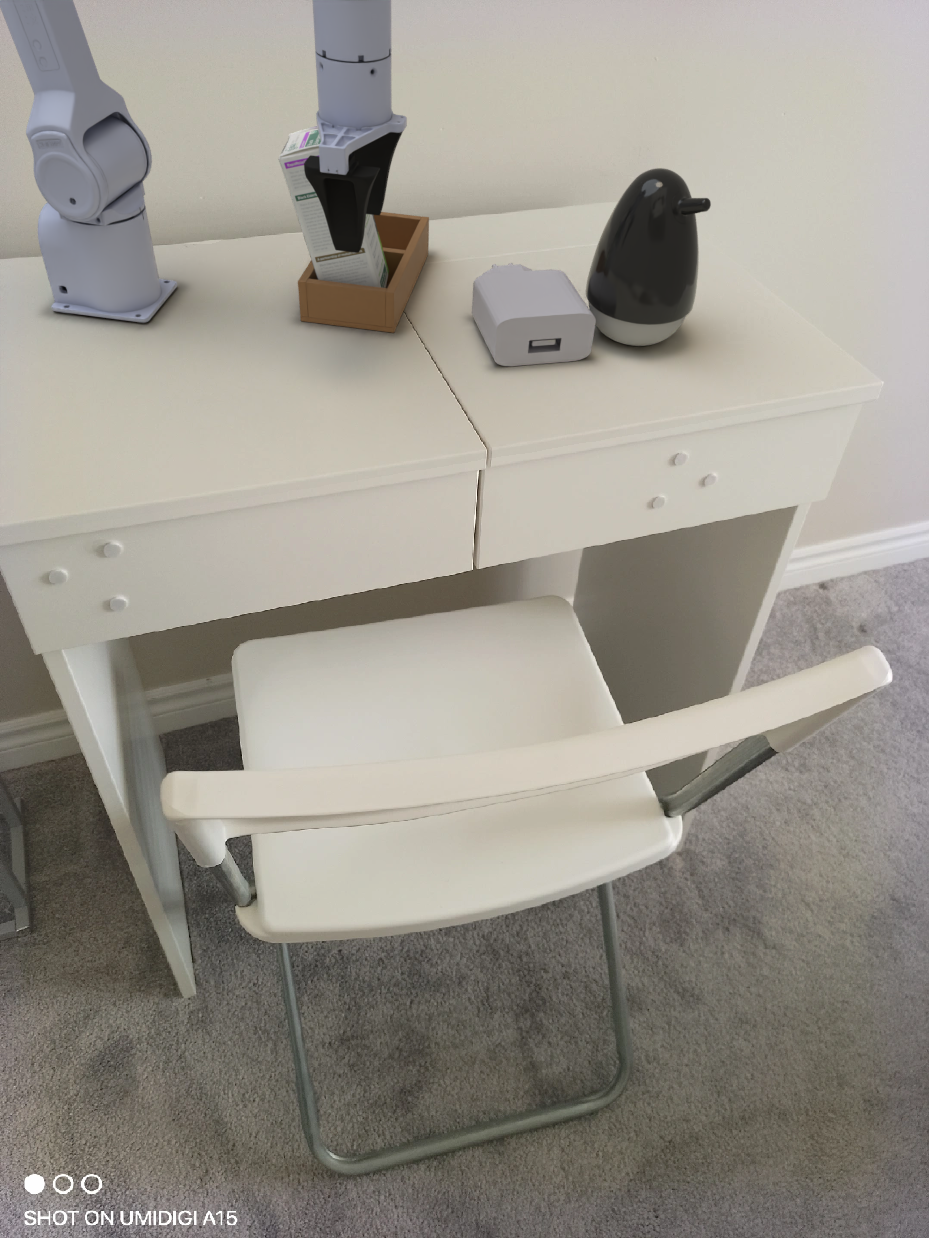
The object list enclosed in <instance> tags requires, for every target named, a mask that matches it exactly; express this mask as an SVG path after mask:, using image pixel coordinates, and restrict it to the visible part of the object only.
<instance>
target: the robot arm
mask: <svg viewBox="0 0 929 1238" xmlns="http://www.w3.org/2000/svg"><path fill="white" fill-rule="evenodd" d="M0 10H1V13H2V16H3V18H4V21H5V23H6V26H7V29H8V31H9V33H10V37H11V39H12V41H13V44H14V46H15V49H16V52H17V54H18V57H19V59H20V62H21V64H22V68H23V69H24V72H25V74H26V77H27V80H28V82H29V84H30V87H31V89H32V93H33V95H34V98H33V102H32V106H31V109H30V114H29V117H28V120H27V125H26V130H25V135H26V137H27V140H28V142H29V145H30V147H31V151H32V156H33V176H34V180H35V183H36V186H37V188H38V190H39V192H40V194H41V196H42V197H43V198H44V200H45V202H46V203H45V204H44V205H43V207H42V208H41V210H40V211H39V215H38V221H37V241H38V245H39V250H40V253H41V256H42V259H43V264H44V268H45V271H46V275H47V279H48V282H49V287H50V289H51V293H52V297H53V301H54V302H52V304H51V306H50V307H51V310H52V311H53V312H57V313H65V314H74V315H81V316H87V317H88V316H89V317H96V318H104V319H105V318H106V319H112V320H120V321H128V322H134V323H135V322H137V323H143V324H145V323H148V322H149V321H151V319H152V318H153V317H154V315H156V313H157V312H158V310H159V309H160V308H161V307H162V306H163V304H164V303H165V302H166V301H167V300H168V299H169V297H170V296H171V295H172V294H173V292H174V291H175V290H176V288H177V287H178V282H177V281H176V280H172V279H166V278H165V279H164V278H160V277H159V271H158V266H157V260H156V254H155V250H154V249H155V248H154V244H153V239H152V234H151V233H152V232H151V228H150V223H149V218H148V212H147V207H146V201H145V195H146V192H145V187H144V181H145V180H146V179H147V178H148V177H149V174H150V173H151V171H152V166H153V165H152V164H153V155H152V150H151V147H150V144H149V142H148V140H147V138H146V136H145V134H144V133H143V131H142V130H141V129H140V128H139V126H138V124H137V123H136V122H135V120H134V119H133V118H132V116H131V114H130V112H129V110H128V107H127V104H126V101H125V98H124V96H123V95H122V94H120V93H119V92H117V90H115V89H114V88H113V87H111V86H110V85H108V84H107V83H105V81H103V80H102V79H101V78H100V74H99V71H98V69H97V66H96V63H95V60H94V57H93V54H92V51H91V48H90V46H89V42H88V39H87V37H86V34H85V31H84V29H83V25H82V22H81V19H80V17H79V14H78V10H77V8H76V5H75V2H74V0H0ZM312 15H313V16H312V17H313V33H314V34H313V35H314V54H315V69H316V72H315V73H316V88H317V103H318V104H317V106H318V107H317V109H318V110H317V111H316V115H315V116H316V117H315V119H316V126H317V127H318V131H319V135H320V140H321V143H320V145H319V156H311V155H310V156H309V157H308V159H307V160H306V161H305V163H304V171H305V176H306V178H307V180H308V181H309V182H310V184H311V185H312V187H313V189H314V191H315V192H316V194H317V196H318V198H319V201H320V203H321V205H322V208H323V211H324V214H325V217H326V221H327V224H328V228H329V231H330V235H331V238H332V242H333V245H334V247H335V250H338V251H346V252H355V253H359V251H360V250H361V246H362V243H363V238H364V230H365V221H366V214H371V215H380V214H381V212H383V207H384V203H385V198H386V193H387V187H388V186H387V185H388V180H389V174H390V171H391V165H392V161H393V159H394V156H395V155H394V154H395V152H396V148H397V146H398V143H399V141H400V139H401V136H402V134H403V132H404V131H405V130H406V128H407V126H408V125H407V124H408V118H407V116H405V115H403V114H396V113H394V112H393V109H392V107H393V106H392V105H393V104H392V98H393V97H392V96H393V95H392V0H312Z"/></svg>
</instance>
